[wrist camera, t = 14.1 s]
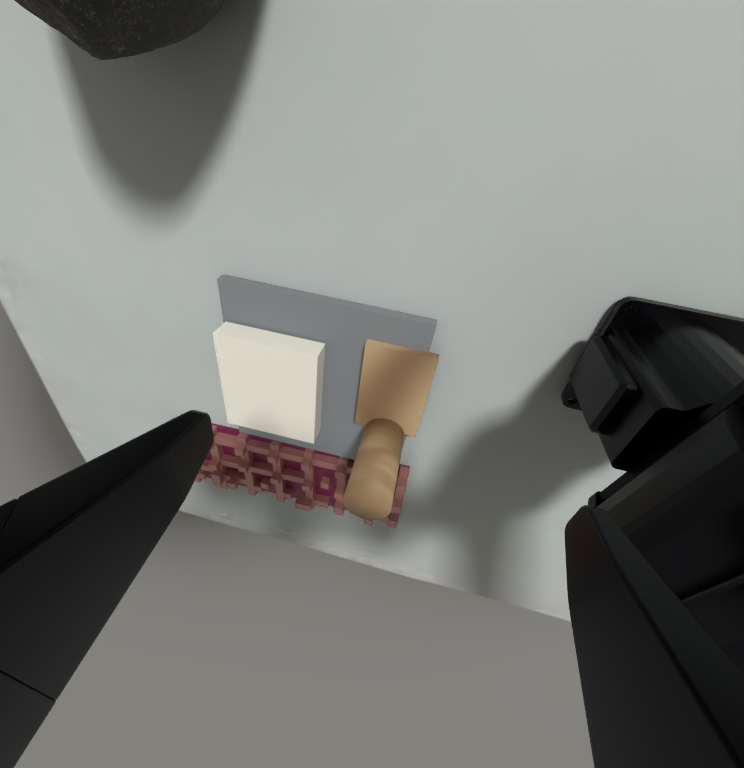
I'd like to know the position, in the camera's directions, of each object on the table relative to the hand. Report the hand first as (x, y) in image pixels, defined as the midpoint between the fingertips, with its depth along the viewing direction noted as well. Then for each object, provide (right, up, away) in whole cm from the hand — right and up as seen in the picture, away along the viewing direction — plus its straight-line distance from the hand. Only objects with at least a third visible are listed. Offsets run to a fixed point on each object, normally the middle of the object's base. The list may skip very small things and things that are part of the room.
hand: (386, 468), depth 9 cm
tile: (-4, +1, +14) cm, 14 cm away
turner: (+1, +1, +14) cm, 14 cm away
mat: (-3, +2, +15) cm, 15 cm away
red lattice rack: (-7, -5, +22) cm, 23 cm away
